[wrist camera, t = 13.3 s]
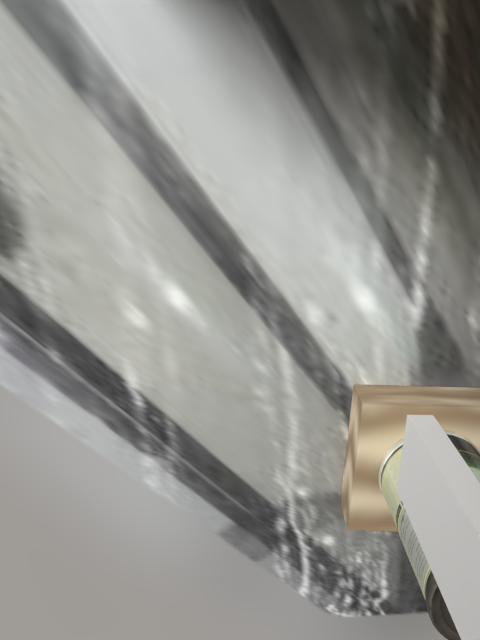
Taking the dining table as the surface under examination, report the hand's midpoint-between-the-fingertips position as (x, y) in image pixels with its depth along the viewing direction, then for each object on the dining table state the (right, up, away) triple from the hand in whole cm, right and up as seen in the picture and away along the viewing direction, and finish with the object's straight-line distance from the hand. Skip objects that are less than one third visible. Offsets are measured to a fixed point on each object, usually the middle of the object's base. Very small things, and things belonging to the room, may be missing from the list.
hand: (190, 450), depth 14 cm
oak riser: (+21, -10, +35) cm, 42 cm away
